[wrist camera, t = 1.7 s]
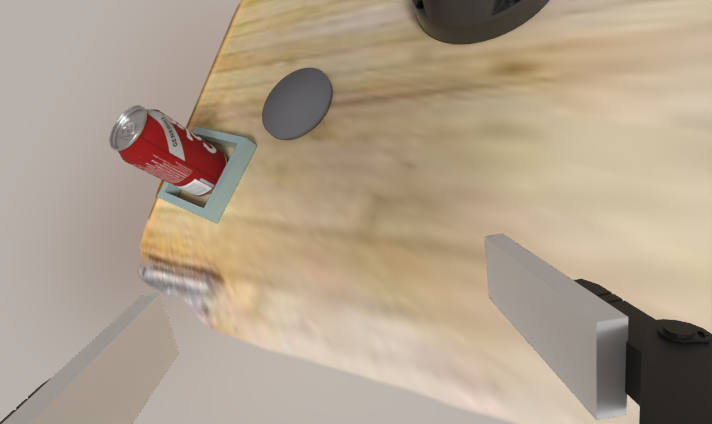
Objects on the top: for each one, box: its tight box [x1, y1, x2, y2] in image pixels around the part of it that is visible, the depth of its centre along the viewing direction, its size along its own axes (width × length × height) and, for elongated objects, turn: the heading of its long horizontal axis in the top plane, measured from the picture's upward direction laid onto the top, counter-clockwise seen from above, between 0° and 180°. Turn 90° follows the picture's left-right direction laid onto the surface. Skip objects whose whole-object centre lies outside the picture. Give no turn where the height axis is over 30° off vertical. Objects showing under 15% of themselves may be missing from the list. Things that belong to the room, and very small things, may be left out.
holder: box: [157, 126, 257, 223], centre depth 49 cm, size 11×11×2 cm
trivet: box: [262, 68, 333, 140], centre depth 47 cm, size 10×10×1 cm
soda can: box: [110, 105, 227, 196], centre depth 45 cm, size 7×7×12 cm
